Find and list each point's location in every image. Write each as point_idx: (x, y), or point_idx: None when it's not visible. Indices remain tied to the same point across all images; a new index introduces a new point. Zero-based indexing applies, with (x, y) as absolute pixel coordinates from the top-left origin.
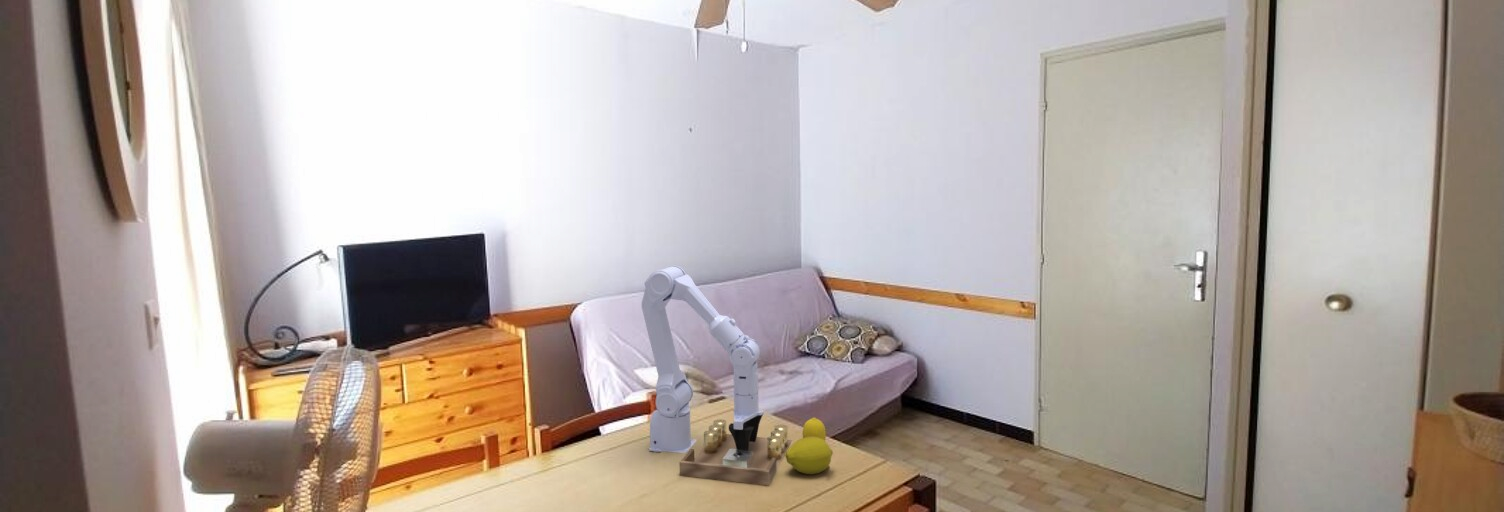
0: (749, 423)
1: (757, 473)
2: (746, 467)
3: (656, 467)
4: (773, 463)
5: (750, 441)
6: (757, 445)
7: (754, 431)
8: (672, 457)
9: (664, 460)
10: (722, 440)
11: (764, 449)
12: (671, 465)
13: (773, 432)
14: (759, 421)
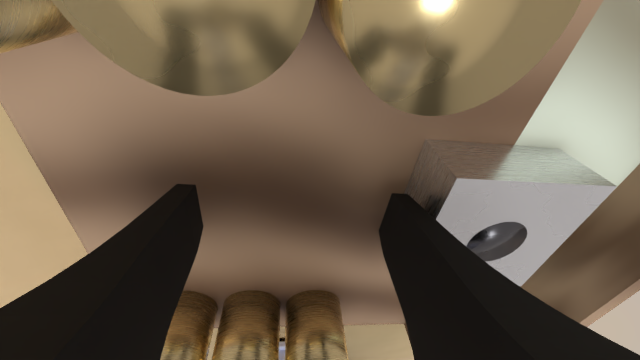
0: (139, 348)
1: None
2: (579, 164)
3: (413, 355)
4: None
5: (200, 210)
6: (186, 155)
7: (162, 248)
8: (352, 350)
9: (372, 356)
10: (207, 301)
11: (239, 98)
12: (404, 341)
13: (192, 50)
14: (58, 320)
